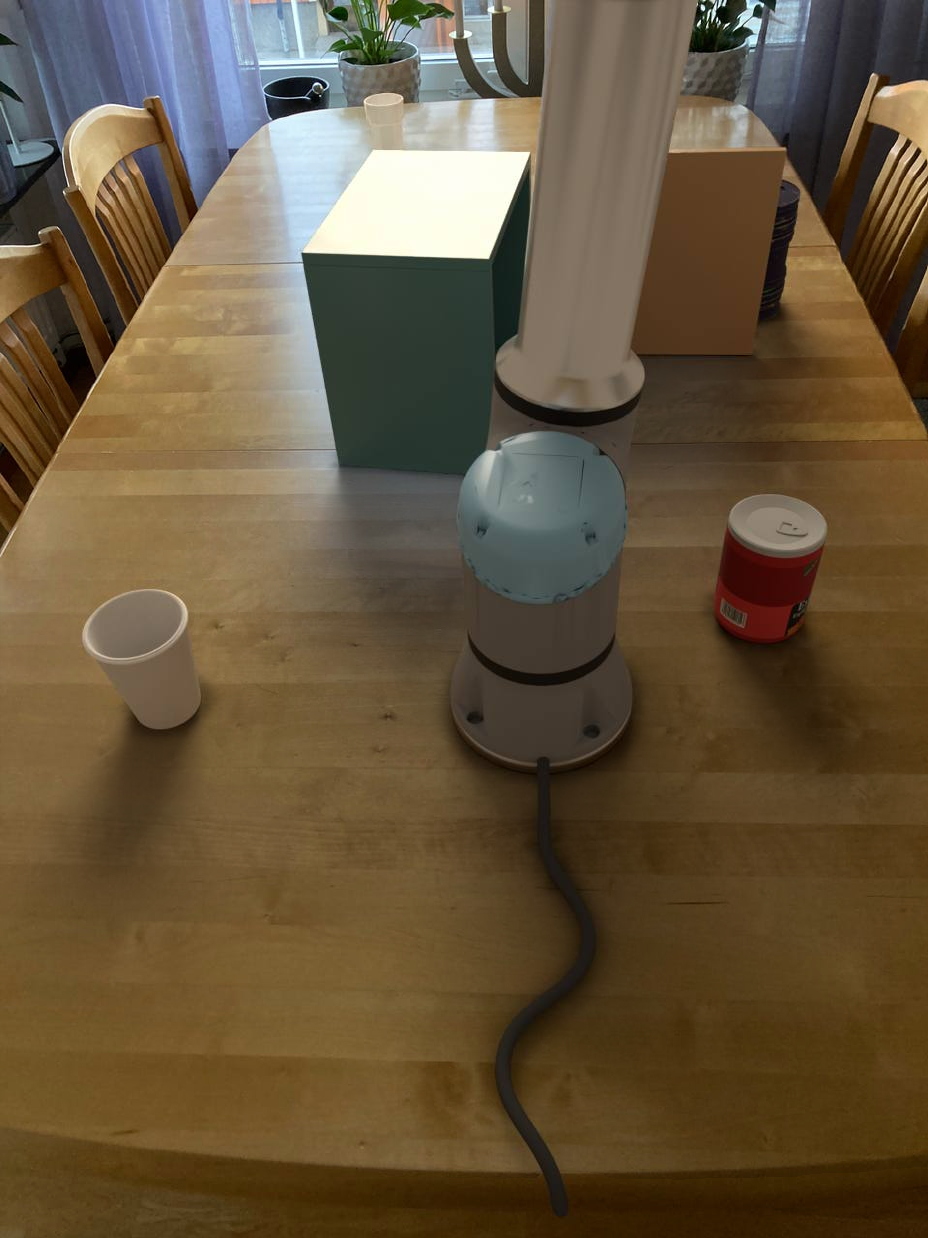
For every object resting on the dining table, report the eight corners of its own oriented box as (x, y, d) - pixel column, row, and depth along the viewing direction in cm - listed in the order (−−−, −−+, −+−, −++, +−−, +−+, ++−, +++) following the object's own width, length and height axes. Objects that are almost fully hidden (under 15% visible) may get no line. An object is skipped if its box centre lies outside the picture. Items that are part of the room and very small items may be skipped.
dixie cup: (114, 685, 86) (76, 604, 79) (207, 657, 88) (178, 576, 81) (125, 754, 81) (85, 674, 74) (224, 723, 82) (195, 642, 75)
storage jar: (723, 329, 125) (741, 212, 114) (691, 295, 131) (704, 182, 121) (794, 315, 126) (817, 199, 115) (758, 282, 133) (777, 170, 122)
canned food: (804, 650, 85) (831, 556, 77) (710, 640, 86) (727, 547, 78) (800, 591, 90) (825, 497, 82) (712, 582, 91) (729, 489, 84)
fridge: (532, 352, 123) (531, 151, 106) (497, 476, 105) (489, 258, 88) (395, 345, 126) (372, 149, 109) (338, 465, 108) (300, 252, 91)
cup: (366, 172, 169) (358, 105, 162) (379, 159, 174) (372, 92, 166) (401, 175, 168) (395, 106, 160) (414, 161, 172) (408, 93, 164)
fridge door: (540, 327, 127) (540, 132, 110) (746, 327, 124) (779, 127, 107) (537, 353, 122) (537, 154, 105) (751, 354, 119) (786, 150, 102)
